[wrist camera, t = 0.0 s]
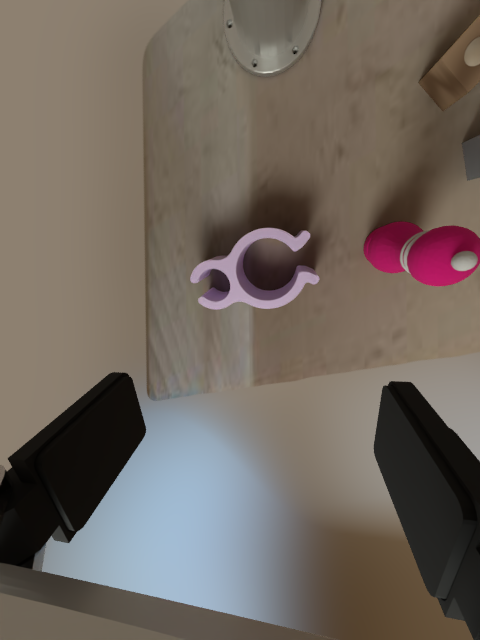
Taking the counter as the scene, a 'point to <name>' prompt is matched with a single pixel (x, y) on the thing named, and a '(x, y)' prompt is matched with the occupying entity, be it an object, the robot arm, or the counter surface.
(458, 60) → the walnut block
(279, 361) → the counter surface
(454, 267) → the pepper mill
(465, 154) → the charcoal block
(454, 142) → the counter surface
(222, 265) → the clip
